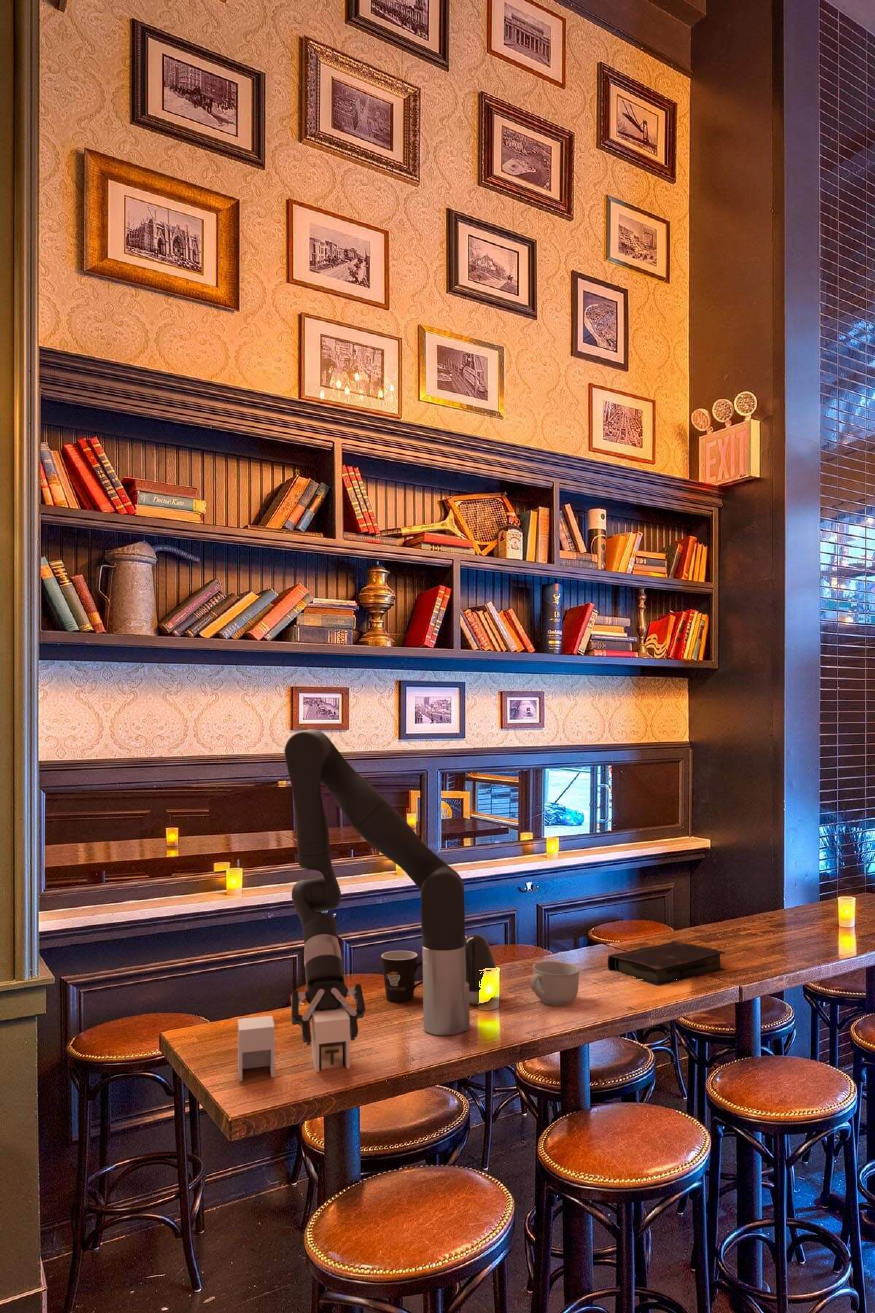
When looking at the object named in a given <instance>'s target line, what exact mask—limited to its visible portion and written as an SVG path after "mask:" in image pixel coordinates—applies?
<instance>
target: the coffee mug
mask: <svg viewBox="0 0 875 1313" xmlns="http://www.w3.org/2000/svg"><path fill="white" fill-rule="evenodd" d="M380 957H381V964H382V972H383V974H382V975H383V981H384V990H385V996H386V997H385V998H386V1001H388V1002H389V1001H390V1002H391V1003H394V1004H395V1003H396V1004H399V1003H400V1004H401V1003H407V1002H408V1001H409V1002H411V1001H413V1000H414V996H415V989H416V988H417V987H420V985H423V979H422V980H421V981H420V982H418V983H416V975H417V970H418V968H419V967H420V966H423V961H421V962H418V953H417V952H415V951H409V950H391V951H386V952H384V953H382V954H381V956H380ZM417 962H418V963H417ZM409 1002H408V1003H409Z"/></svg>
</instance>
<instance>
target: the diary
mask: <svg viewBox="0 0 875 1313" xmlns="http://www.w3.org/2000/svg"><path fill="white" fill-rule="evenodd" d="M724 954H726V952H725V951H722V950H718V949H715V948H710V947H707V946H702V945H697V944H692V943H684V942H679V941H675V940H674V941H671V942H667V943H662V944H659V945H653V946H646V947H641V948H638V949H633V950H628V951H625V952H619V953H612V954H608V956H607V969H608V971H615V972H616V971H618V972H619V973H620V972H621V973H620V974H623V975H626V976H630V977H633V976H634V977H636V978H633V979H635V980H637V979H643V980H639V981H641V982H643V983H646V982H647V983H646V984H650V985H654V986H663V985H664V986H665V985H667V984H668V983H669V984H672V983H671V982H673V983H677V982H680V981H681V982H682V981H685V980H688V979H692V978H699V977H702V976H704V975H706V974H713V973H718V972H722V971H727V969H726V968H722V964H721V955H724ZM676 979H677V980H676ZM684 979H685V980H684ZM669 984H668V985H669Z"/></svg>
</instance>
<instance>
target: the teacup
mask: <svg viewBox="0 0 875 1313" xmlns="http://www.w3.org/2000/svg"><path fill="white" fill-rule="evenodd" d="M579 980H580V968H579V967H578V966H576V965H574V964H572V963H569V962H564V961H556V960H545V961H538V962H536V963H534V964H533V965H532V976H531V978H530V984H529V985H530V989H531V990H532V991H533V993H534V994H535V996H536V997H537V998H538V999H539V1000H540V1001H541V1002H542V1003H543V1004H546V1005H550V1006H558V1007H559V1006H560V1007H561V1006H566V1005H569V1004H570V1003H571V1002H573V1001H574V1000H575V999H576V998H577V997H578V992H579Z"/></svg>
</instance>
